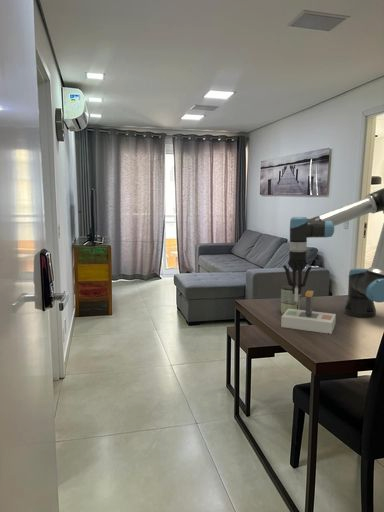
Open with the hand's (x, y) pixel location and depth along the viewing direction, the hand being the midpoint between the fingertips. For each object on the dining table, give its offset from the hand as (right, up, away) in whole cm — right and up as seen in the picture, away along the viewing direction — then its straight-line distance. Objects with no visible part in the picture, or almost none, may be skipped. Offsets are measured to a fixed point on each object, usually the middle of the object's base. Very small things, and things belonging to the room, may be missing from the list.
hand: (296, 300), depth 179 cm
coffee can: (+2, -9, +19) cm, 21 cm away
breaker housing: (+5, -11, -1) cm, 13 cm away
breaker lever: (+5, -6, -2) cm, 8 cm away
